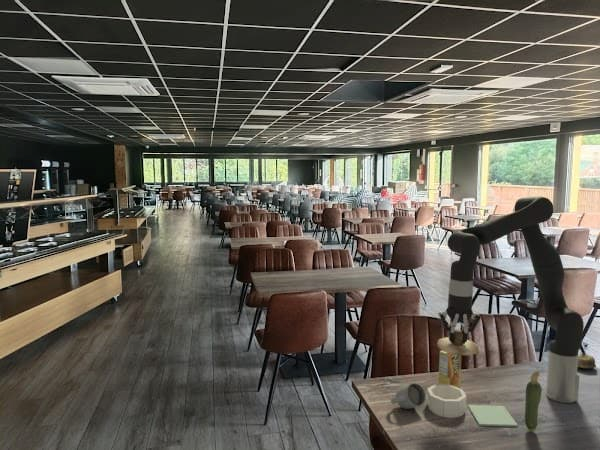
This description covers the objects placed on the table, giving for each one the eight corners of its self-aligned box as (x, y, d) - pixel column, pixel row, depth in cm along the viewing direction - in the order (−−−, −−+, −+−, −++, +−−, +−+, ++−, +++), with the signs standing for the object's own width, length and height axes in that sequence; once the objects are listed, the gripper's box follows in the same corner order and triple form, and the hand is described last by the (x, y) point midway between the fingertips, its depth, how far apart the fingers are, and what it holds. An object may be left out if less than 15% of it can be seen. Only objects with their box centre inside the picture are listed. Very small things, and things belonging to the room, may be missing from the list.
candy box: (451, 383, 175) (452, 345, 173) (461, 387, 172) (462, 348, 170) (437, 390, 170) (438, 351, 168) (447, 394, 166) (449, 354, 165)
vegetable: (521, 427, 145) (524, 367, 142) (533, 426, 145) (537, 366, 143) (529, 434, 140) (532, 373, 138) (542, 434, 141) (545, 372, 138)
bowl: (458, 400, 162) (459, 384, 161) (469, 418, 150) (469, 401, 149) (424, 399, 162) (425, 383, 162) (432, 417, 151) (432, 400, 150)
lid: (470, 341, 158) (472, 325, 158) (483, 356, 145) (485, 338, 145) (433, 339, 159) (434, 324, 158) (442, 354, 146) (443, 337, 145)
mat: (503, 407, 157) (503, 405, 157) (517, 426, 145) (517, 424, 145) (468, 406, 158) (468, 404, 158) (479, 425, 146) (479, 423, 146)
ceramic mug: (411, 411, 158) (412, 388, 162) (426, 408, 151) (426, 385, 155) (385, 404, 155) (386, 381, 159) (399, 402, 148) (399, 378, 152)
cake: (601, 370, 186) (602, 357, 186) (576, 369, 187) (576, 357, 186) (587, 360, 196) (588, 348, 196) (563, 359, 197) (564, 347, 196)
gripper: (478, 290, 153) (475, 339, 155) (436, 289, 154) (433, 338, 156) (486, 296, 146) (482, 347, 148) (442, 294, 147) (439, 346, 149)
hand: (457, 342), depth 152 cm, fingers closed on lid, 3 cm apart
